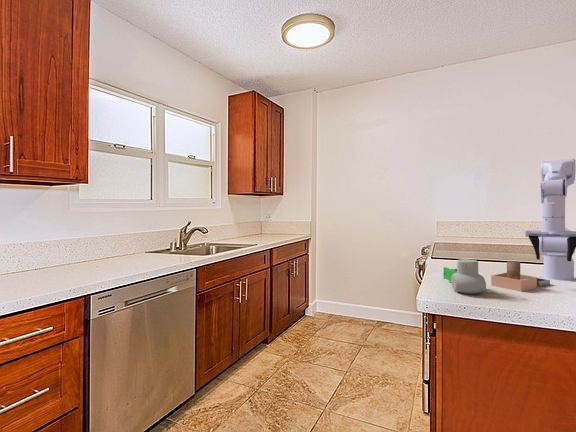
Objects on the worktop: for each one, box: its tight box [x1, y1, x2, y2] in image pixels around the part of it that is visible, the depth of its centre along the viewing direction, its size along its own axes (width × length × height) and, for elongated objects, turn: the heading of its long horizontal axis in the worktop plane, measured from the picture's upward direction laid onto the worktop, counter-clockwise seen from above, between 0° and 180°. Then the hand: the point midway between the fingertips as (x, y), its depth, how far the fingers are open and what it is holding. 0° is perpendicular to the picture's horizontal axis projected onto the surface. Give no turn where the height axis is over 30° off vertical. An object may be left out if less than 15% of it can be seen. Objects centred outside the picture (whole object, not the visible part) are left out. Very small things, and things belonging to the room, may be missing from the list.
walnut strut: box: [506, 261, 521, 280], centre depth 105 cm, size 4×4×8 cm
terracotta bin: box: [490, 271, 538, 293], centre depth 105 cm, size 9×9×4 cm
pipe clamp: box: [442, 266, 457, 284], centre depth 115 cm, size 11×4×5 cm, turn 173°
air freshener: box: [450, 258, 487, 295], centre depth 102 cm, size 11×8×10 cm
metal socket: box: [537, 277, 551, 288], centre depth 108 cm, size 6×6×2 cm
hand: (553, 259), depth 103 cm, fingers open, 7 cm apart
